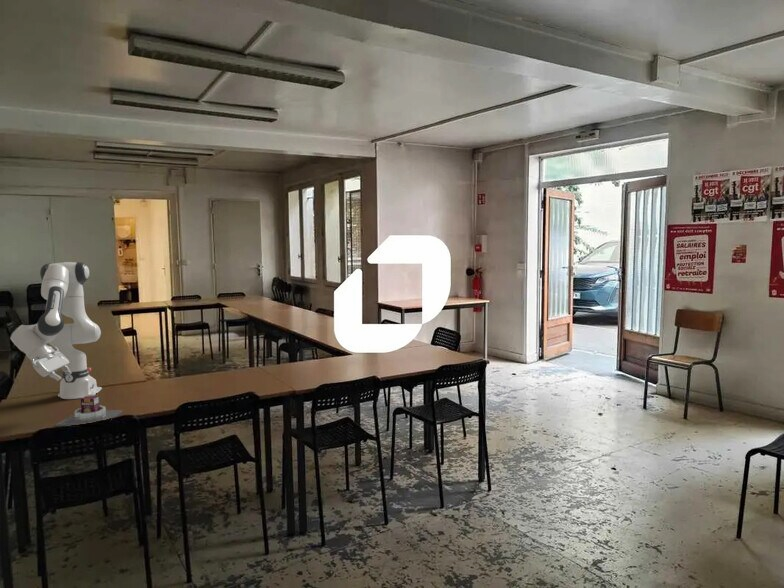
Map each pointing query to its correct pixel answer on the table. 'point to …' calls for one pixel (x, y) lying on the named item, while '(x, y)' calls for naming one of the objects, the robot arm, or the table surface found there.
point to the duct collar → (89, 416)
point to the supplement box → (89, 404)
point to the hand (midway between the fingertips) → (64, 376)
